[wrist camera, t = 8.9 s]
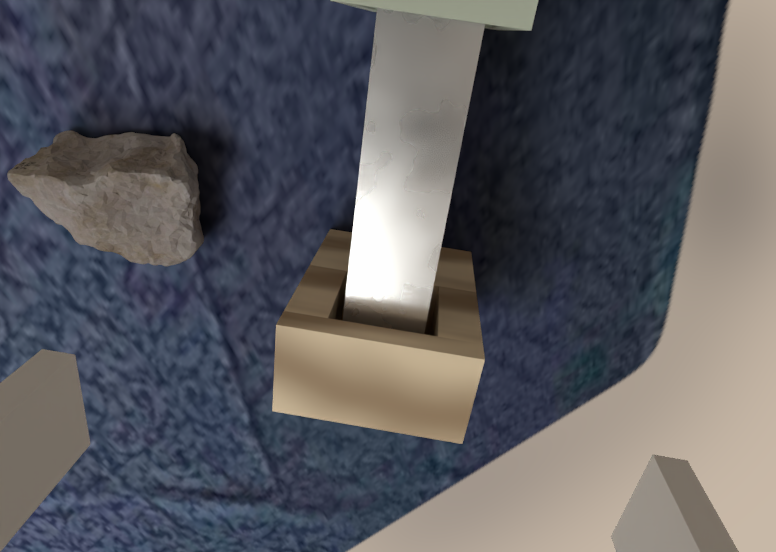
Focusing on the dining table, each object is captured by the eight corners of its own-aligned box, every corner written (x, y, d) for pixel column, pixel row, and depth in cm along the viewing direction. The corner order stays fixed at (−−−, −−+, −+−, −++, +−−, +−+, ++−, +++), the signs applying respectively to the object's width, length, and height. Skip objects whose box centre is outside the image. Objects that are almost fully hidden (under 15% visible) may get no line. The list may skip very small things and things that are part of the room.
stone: (215, 260, 34) (173, 302, 29) (73, 224, 34) (4, 259, 29) (224, 141, 31) (177, 165, 25) (65, 101, 31) (-15, 116, 25)
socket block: (330, 228, 32) (276, 324, 22) (471, 251, 32) (484, 359, 22) (324, 294, 34) (272, 411, 24) (456, 316, 34) (462, 443, 24)
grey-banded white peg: (395, -60, 20) (385, -79, 17) (493, -46, 20) (503, -61, 17) (349, 324, 28) (336, 366, 25) (419, 336, 28) (416, 380, 25)
